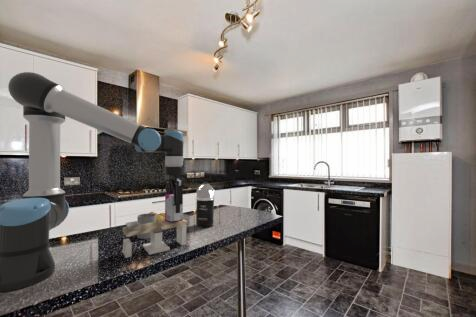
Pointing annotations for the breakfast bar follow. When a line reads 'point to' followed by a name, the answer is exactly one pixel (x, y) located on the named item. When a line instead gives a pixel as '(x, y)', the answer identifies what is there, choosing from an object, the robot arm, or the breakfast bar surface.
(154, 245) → the beam stand
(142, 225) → the beam
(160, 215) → the bread roll
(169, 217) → the supplement box
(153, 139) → the robot arm
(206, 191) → the spray bottle
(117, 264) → the breakfast bar surface
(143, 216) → the cup
